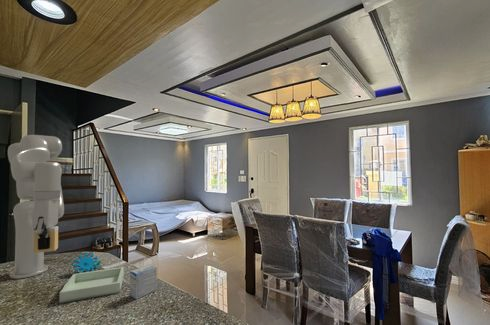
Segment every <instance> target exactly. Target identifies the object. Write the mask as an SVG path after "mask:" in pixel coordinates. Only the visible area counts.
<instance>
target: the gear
mask: <svg viewBox="0 0 490 325" xmlns="http://www.w3.org/2000/svg"><path fill="white" fill-rule="evenodd" d="M88 255H89V253H88V252H86V253H84V257H83V254H79V255H78V257H76V258H75V259H74V263H73V264H72V267H73V268H74V272H75V273H76V272H78V273H85V272H92V271H96V270H95V269H98V268H99V267H100V264H101V263H102V262H103V259H102V258H100V259H99V257H98V256H97V255H96V256H95V254H94V253H90V255H89V256H88ZM94 268H95V269H94ZM79 270H80V271H79ZM90 270H91V271H90Z"/></svg>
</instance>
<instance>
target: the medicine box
mask: <svg viewBox="0 0 490 325" xmlns="http://www.w3.org/2000/svg"><path fill="white" fill-rule="evenodd" d="M157 271H158V270H157V266H154V265H152V264H146V265H145V266H141V267H139V268H136V269H133V270H131V271H130V272H129V276H130V277H129V296H130V297H132V298H133V299H134V300H138V299H140V298H143V297H145V296H146V295H149V294H151V293H153V292H156V291H157V290H158V289H157V288H158V287H157V284H158V283H157V281H158V280H157V278H158V277H157V274H158V273H157Z"/></svg>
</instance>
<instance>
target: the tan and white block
mask: <svg viewBox="0 0 490 325" xmlns="http://www.w3.org/2000/svg"><path fill="white" fill-rule="evenodd" d="M43 229H46V227H43ZM36 231H37V229H36V230H34V245H33V253H40V252H44V253H47V252H55V251H57V249H58V248H59V226H58V225H57V226H56V225H55V227H51V228H49V237H50V248H49V249H43V250H38V234H37V233H36ZM44 231H45V232H46V230H44Z"/></svg>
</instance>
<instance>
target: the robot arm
mask: <svg viewBox="0 0 490 325" xmlns="http://www.w3.org/2000/svg"><path fill="white" fill-rule="evenodd" d="M62 150H63V143H62V139H60V138H59V137H57V136H54V135H42V134H28V135H24V136H23V137H22V138H21V139H20V141H19V142H15V143H12V144H10V145H9V146H8V148H7V157H8V158H7V159H8V162H9V164H10V172H11V176H12V178H13V179H14V181H15V183H16V185H15V186H16V195H17V197H18V198H19V199H20V200H22V201H21V202H18V203H17V204H15V205H14V207H13V218H14V227H15V243H14V244H15V246H14V270H13V271H11V272H10V273H9V278H10V279H15V280H17V279H24V278H25V279H26V278H29V277H34V276H37V275H38V276H39V275H40V274H43V273H45V272H46V271H48V269H49V266H48V265H46V264H44V263H45V262H44V260H45V257H44V256H45V252H40V253H33V245H34V230H36V229H37V231H36V233H37V234H38V250H43V249H49V248H50V237H49V228H51V227H55V226H56V225H57V224H58V222H59V219H60V218H62V217H63V216H64V214H65V204H64V196H63V189H62V185H61V182H62V179H61V178H62V173H63V169H62V166H61V163H59V162H58V161H57V162H56V161H55V160H56V159H57V158H58V156H59V155H61V153H62ZM23 200H24V201H23ZM43 227H46V229H43ZM44 230H46V232H45V231H44Z"/></svg>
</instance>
